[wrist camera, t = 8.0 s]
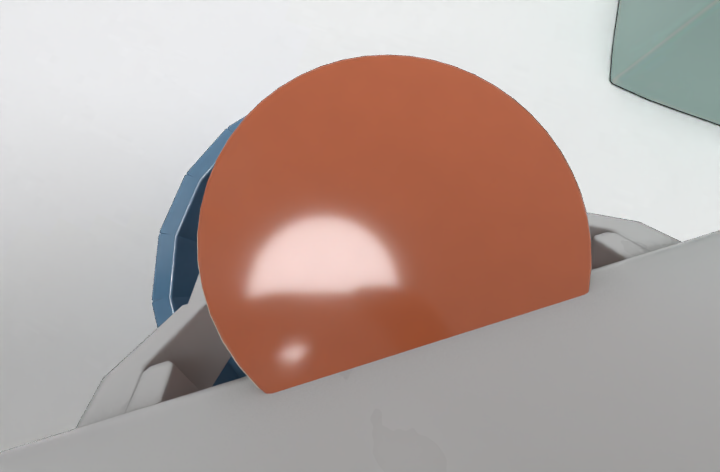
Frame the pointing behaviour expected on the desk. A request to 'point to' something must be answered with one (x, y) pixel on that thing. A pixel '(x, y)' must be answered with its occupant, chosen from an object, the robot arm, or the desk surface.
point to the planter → (670, 53)
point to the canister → (383, 218)
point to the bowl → (186, 245)
